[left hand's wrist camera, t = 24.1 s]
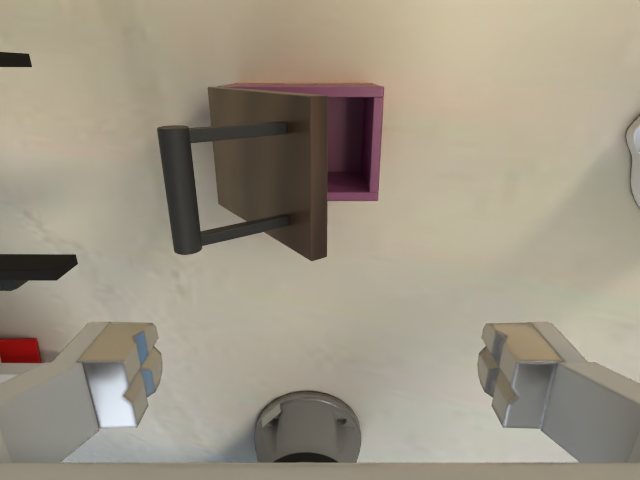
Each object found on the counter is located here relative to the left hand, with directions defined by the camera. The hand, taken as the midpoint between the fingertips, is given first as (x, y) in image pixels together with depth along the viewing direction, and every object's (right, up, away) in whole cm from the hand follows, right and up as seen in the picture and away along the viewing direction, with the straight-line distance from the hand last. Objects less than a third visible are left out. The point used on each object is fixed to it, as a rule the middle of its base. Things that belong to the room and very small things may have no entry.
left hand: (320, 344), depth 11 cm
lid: (-4, +8, +21) cm, 23 cm away
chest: (-2, +14, +35) cm, 38 cm away
